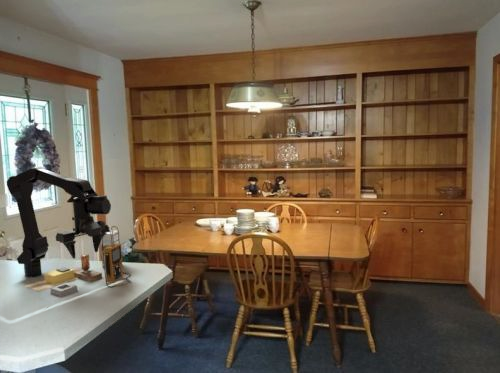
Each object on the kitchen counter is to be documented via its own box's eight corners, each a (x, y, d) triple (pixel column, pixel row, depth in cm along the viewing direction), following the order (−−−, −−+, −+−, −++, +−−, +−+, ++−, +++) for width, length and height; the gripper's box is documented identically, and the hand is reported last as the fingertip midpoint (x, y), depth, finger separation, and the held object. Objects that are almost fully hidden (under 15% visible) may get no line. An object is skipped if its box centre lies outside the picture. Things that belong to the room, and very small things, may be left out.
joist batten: (66, 276, 150) (66, 270, 149) (78, 272, 154) (78, 266, 154) (90, 283, 141) (89, 277, 141) (102, 279, 145) (101, 272, 145)
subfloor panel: (23, 288, 138) (23, 286, 138) (63, 275, 151) (63, 273, 151) (38, 293, 133) (38, 291, 133) (78, 280, 145) (78, 278, 145)
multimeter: (126, 288, 136) (122, 232, 134) (100, 287, 138) (96, 231, 136) (145, 274, 150) (142, 223, 148) (121, 273, 152) (118, 223, 150)
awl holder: (51, 295, 131) (50, 287, 131) (67, 289, 136) (67, 282, 136) (60, 298, 128) (60, 291, 128) (77, 292, 133) (77, 285, 133)
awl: (81, 279, 146) (79, 256, 145) (87, 277, 149) (86, 254, 148) (85, 280, 145) (83, 257, 144) (92, 278, 147) (90, 255, 146)
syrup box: (121, 263, 165) (119, 230, 163) (115, 268, 159) (113, 233, 157) (108, 263, 165) (106, 230, 163) (102, 267, 159) (99, 233, 158)
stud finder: (45, 281, 143) (44, 272, 142) (65, 274, 149) (64, 266, 149) (54, 284, 139) (53, 274, 139) (74, 277, 146) (74, 268, 146)
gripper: (71, 220, 132) (74, 265, 134) (117, 211, 147) (119, 251, 149) (53, 217, 138) (56, 260, 140) (99, 209, 153) (101, 248, 155)
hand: (85, 255), depth 146 cm, fingers open, 9 cm apart
